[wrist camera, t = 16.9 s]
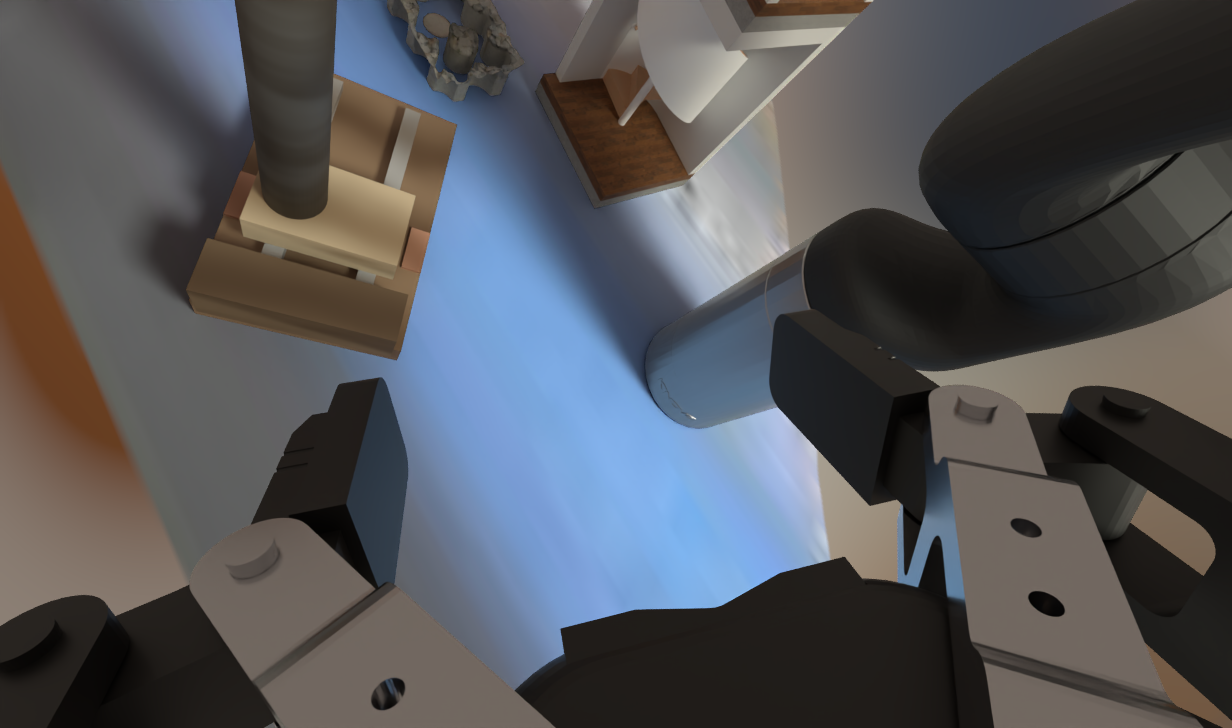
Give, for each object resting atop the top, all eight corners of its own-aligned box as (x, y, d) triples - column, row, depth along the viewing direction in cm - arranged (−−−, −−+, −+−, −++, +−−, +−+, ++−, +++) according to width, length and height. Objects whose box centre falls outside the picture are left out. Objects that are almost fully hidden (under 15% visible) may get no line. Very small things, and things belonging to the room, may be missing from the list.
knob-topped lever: (271, 164, 33) (202, -481, 12) (410, 212, 36) (543, -235, 15) (243, 236, 31) (107, -377, 10) (392, 279, 34) (515, -123, 14)
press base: (289, 76, 38) (287, 18, 34) (451, 141, 42) (466, 97, 38) (192, 321, 32) (173, 286, 27) (394, 367, 36) (405, 343, 32)
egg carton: (374, -11, 43) (379, -59, 40) (462, -9, 47) (474, -53, 44) (431, 108, 43) (441, 69, 39) (516, 99, 47) (532, 63, 43)
